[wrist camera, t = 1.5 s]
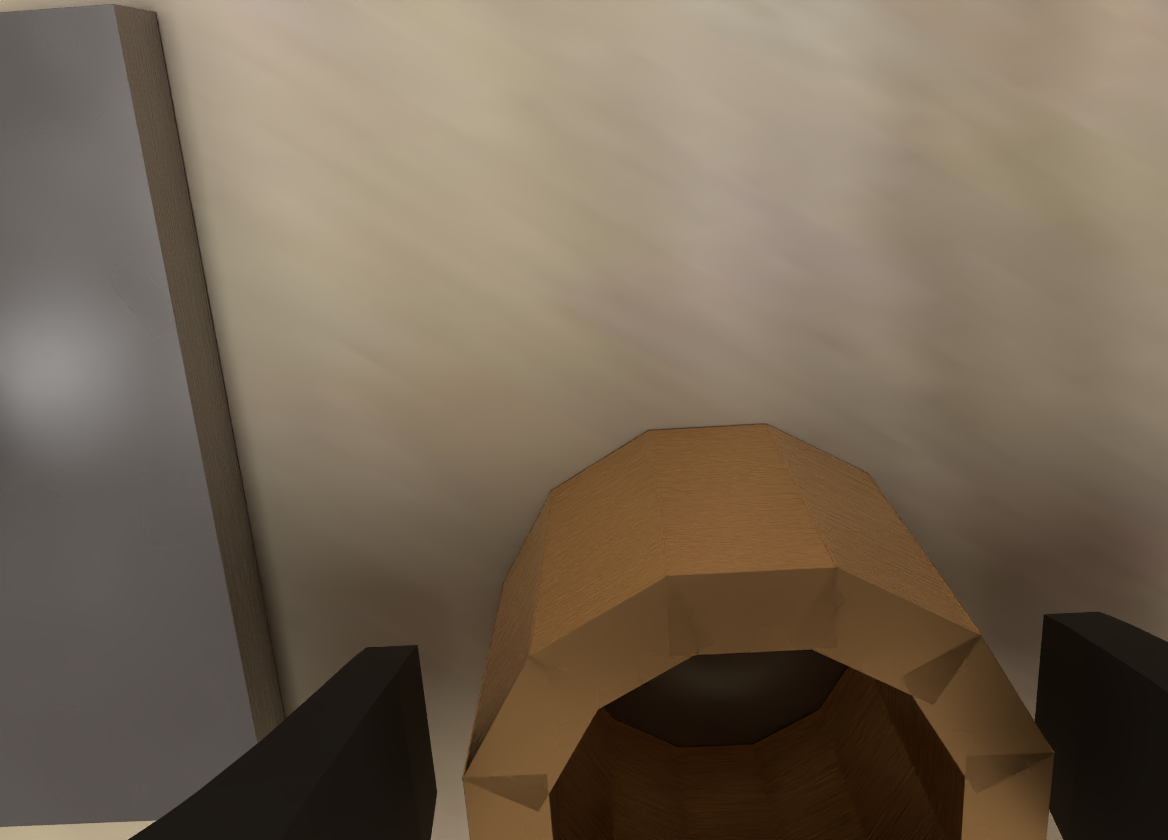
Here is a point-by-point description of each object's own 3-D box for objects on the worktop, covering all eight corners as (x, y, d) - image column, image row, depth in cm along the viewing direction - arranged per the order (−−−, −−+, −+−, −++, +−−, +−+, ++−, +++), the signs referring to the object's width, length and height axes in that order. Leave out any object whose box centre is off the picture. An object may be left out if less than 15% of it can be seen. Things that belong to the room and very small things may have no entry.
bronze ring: (929, 414, 12) (1073, 554, 9) (913, 786, 14) (1027, 1040, 10) (488, 439, 13) (439, 586, 9) (525, 802, 14) (496, 1057, 10)
